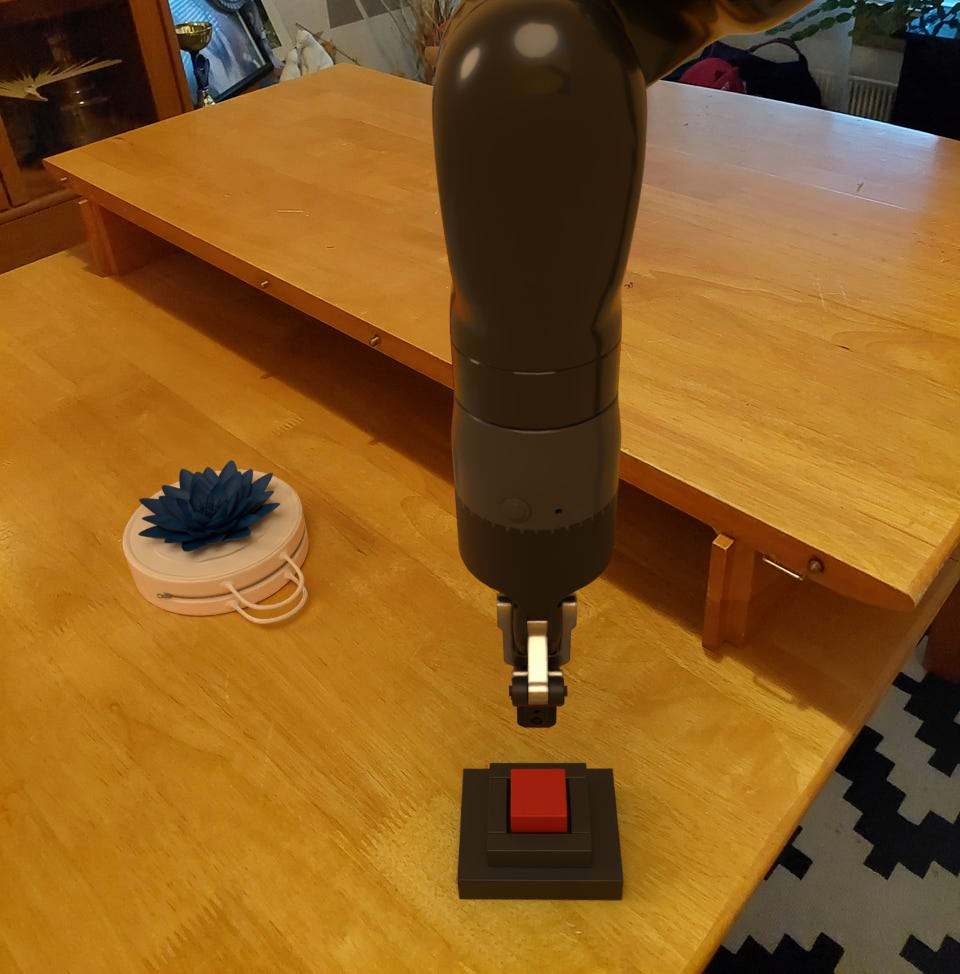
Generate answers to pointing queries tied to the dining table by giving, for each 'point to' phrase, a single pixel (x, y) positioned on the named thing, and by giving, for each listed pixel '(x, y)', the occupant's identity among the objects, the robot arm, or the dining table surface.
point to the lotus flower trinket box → (218, 543)
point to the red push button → (539, 839)
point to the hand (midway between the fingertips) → (536, 716)
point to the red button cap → (538, 800)
